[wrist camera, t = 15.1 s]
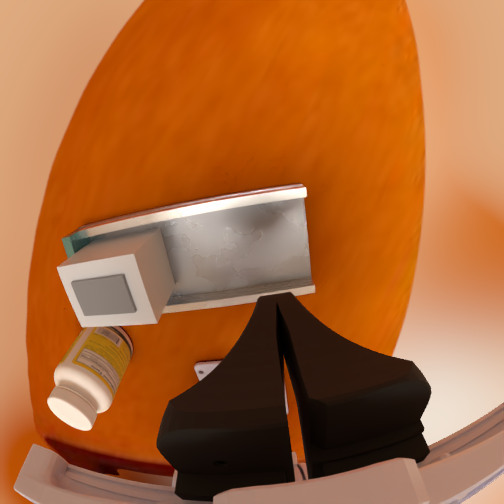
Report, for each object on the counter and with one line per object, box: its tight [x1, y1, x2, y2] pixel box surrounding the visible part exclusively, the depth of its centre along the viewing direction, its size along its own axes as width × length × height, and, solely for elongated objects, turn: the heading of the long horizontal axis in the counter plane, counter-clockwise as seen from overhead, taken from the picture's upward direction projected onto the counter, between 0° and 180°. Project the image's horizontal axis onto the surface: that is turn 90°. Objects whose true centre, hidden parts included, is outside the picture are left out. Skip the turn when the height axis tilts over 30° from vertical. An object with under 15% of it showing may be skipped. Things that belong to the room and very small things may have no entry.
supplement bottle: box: [47, 326, 133, 431], centre depth 19 cm, size 5×5×10 cm
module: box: [57, 228, 175, 327], centre depth 17 cm, size 4×6×5 cm
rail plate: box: [62, 183, 315, 313], centre depth 19 cm, size 17×8×3 cm, turn 99°
